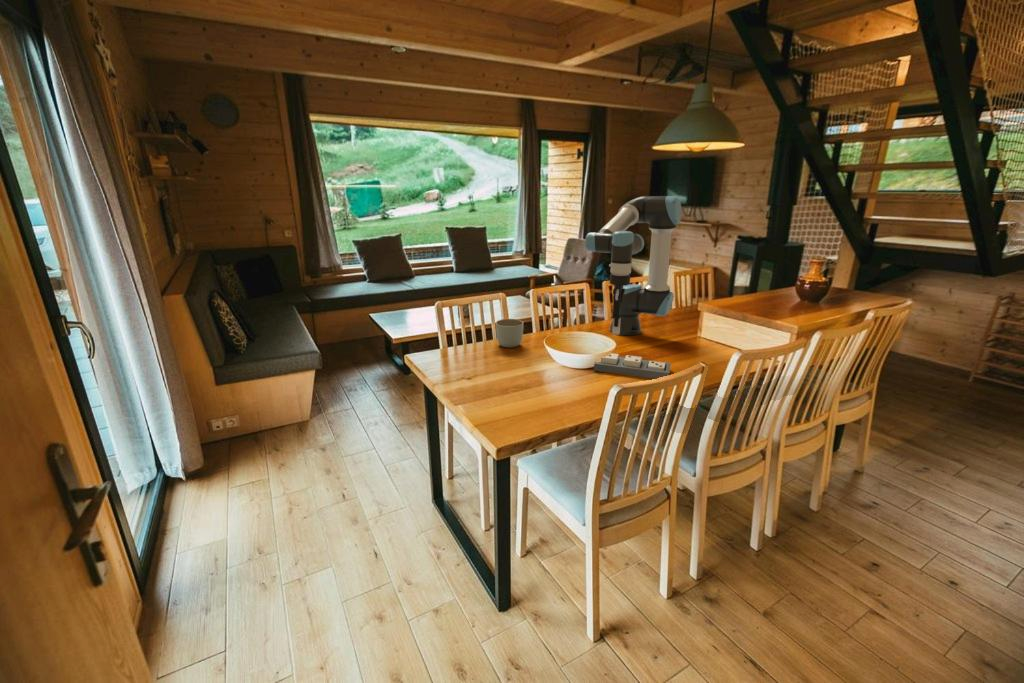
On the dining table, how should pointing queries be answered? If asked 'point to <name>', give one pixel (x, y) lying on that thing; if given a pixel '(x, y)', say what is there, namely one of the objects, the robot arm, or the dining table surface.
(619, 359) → the board
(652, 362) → the tile three pips
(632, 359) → the tile two pips
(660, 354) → the dining table surface
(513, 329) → the planter
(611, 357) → the tile one pip
